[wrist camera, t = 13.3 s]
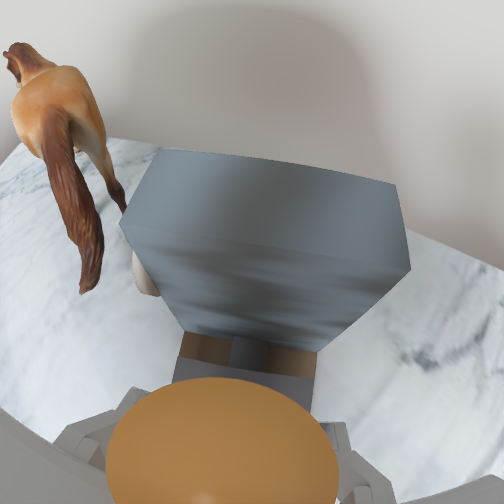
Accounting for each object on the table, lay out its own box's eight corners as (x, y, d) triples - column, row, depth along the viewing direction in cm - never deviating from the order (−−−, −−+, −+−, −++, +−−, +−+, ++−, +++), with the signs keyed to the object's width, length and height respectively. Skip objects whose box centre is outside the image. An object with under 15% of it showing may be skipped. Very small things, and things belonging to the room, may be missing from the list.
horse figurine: (47, 157, 33) (2, 49, 16) (87, 133, 36) (53, 21, 18) (110, 322, 22) (-59, 127, 4) (181, 273, 24) (108, 23, 7)
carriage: (305, 382, 17) (451, 305, 5) (289, 479, 13) (397, 599, 1) (185, 362, 17) (66, 244, 5) (166, 458, 14) (11, 527, 1)
